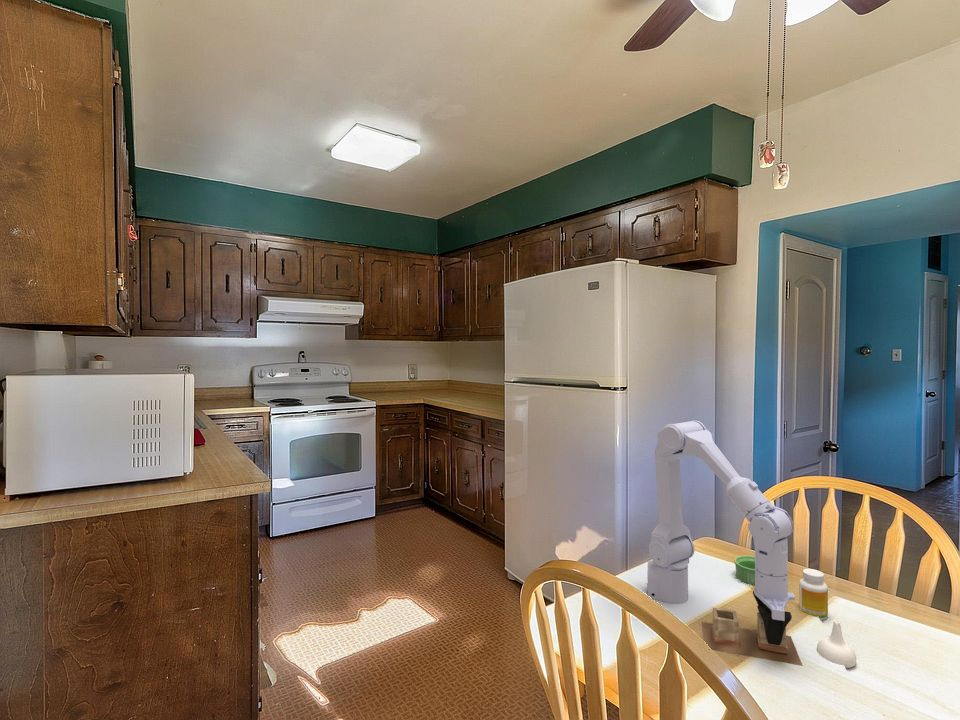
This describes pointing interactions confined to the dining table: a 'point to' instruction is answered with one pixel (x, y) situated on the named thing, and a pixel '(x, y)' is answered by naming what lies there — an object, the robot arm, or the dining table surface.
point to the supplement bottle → (813, 594)
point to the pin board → (752, 646)
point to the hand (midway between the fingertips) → (771, 636)
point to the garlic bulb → (837, 648)
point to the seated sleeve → (725, 627)
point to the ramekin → (745, 568)
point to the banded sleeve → (763, 640)
